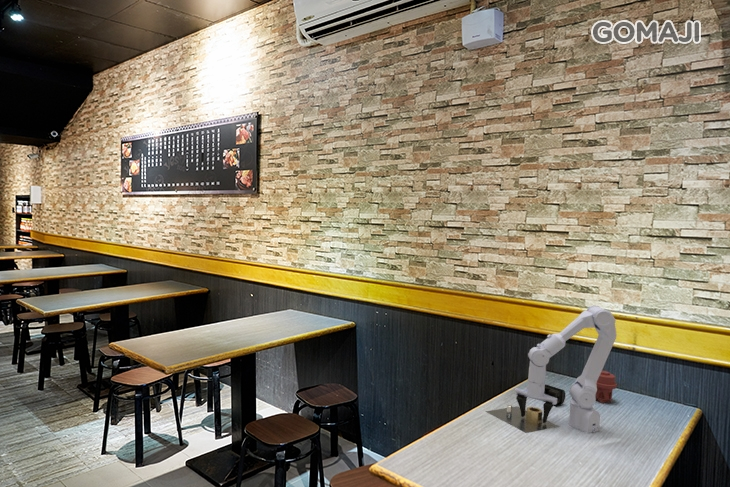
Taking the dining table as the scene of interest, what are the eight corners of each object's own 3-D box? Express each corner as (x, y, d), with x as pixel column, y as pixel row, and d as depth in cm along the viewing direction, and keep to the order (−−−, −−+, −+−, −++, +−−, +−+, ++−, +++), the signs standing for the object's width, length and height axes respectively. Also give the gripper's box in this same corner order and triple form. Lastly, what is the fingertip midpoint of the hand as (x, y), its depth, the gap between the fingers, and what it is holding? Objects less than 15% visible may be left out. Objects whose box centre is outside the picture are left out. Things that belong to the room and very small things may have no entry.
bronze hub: (544, 422, 172) (545, 411, 172) (534, 424, 169) (534, 413, 169) (533, 417, 177) (534, 406, 176) (522, 418, 174) (523, 408, 174)
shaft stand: (559, 430, 169) (560, 415, 169) (525, 437, 162) (527, 421, 162) (516, 410, 187) (517, 396, 187) (484, 415, 179) (486, 400, 179)
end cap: (565, 405, 196) (566, 388, 196) (556, 408, 192) (557, 391, 192) (542, 397, 204) (543, 381, 204) (533, 400, 199) (534, 384, 199)
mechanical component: (604, 406, 198) (584, 397, 207) (620, 403, 202) (600, 395, 211) (606, 376, 197) (586, 369, 206) (623, 374, 202) (602, 367, 211)
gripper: (560, 383, 171) (557, 421, 172) (520, 374, 180) (517, 410, 181) (555, 388, 166) (552, 427, 166) (513, 378, 174) (510, 415, 175)
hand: (533, 419), depth 173 cm, fingers open, 7 cm apart
